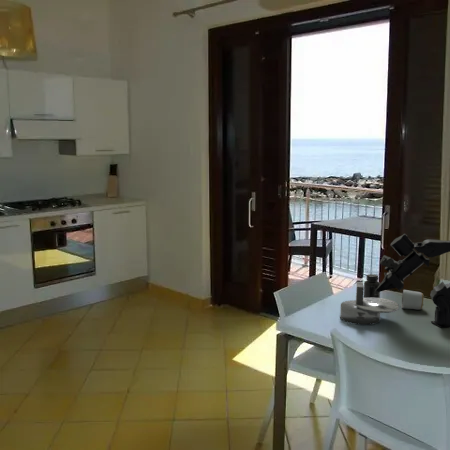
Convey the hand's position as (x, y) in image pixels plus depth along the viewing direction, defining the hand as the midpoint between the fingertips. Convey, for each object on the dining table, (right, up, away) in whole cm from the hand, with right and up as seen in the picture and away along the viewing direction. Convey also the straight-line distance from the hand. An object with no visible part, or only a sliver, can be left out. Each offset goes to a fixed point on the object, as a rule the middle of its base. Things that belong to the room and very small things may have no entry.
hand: (376, 291), depth 197 cm
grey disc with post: (0, -6, +1) cm, 6 cm away
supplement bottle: (+5, -8, +24) cm, 26 cm away
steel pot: (-6, -11, +3) cm, 13 cm away
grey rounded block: (+19, -9, +17) cm, 28 cm away
